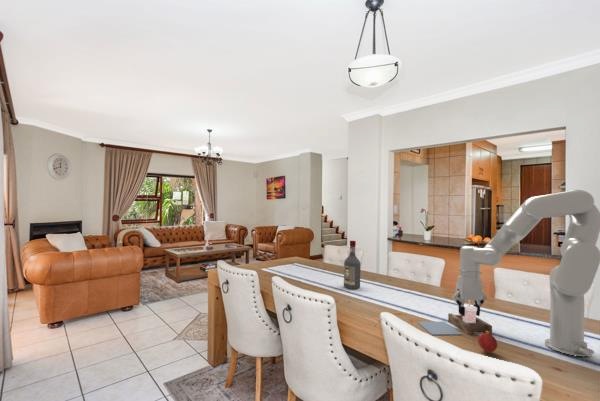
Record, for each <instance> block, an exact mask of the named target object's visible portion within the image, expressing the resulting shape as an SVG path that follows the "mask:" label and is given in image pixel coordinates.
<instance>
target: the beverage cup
mask: <svg viewBox="0 0 600 401" xmlns="http://www.w3.org/2000/svg"><path fill="white" fill-rule="evenodd" d="M464 307H465V316H463V321H464V322H466V323H476V317H477V315H476V311H477V307H475V306H474V305H472V304H471V301H468V304H464Z"/></svg>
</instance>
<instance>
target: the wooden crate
mask: <svg viewBox="0 0 600 401" xmlns="http://www.w3.org/2000/svg"><path fill="white" fill-rule="evenodd" d="M447 318H448V319H447V321H448V322H449V323H450V324H452V325H454V327H455V328H458V329H459V330H461V331H462V332H463V333H465V334H466V333H467V334H466V335H472V333H471V332H485V331H489V333H490V334H491V335H493V326H492V325H491V324H489V323H488V322H486V321H484V320H482V319H481V318H479V317H478V316H476V323H466V322H464V321H463V316H462V315H460V314H453V313H448V317H447Z"/></svg>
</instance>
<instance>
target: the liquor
mask: <svg viewBox="0 0 600 401" xmlns="http://www.w3.org/2000/svg"><path fill="white" fill-rule="evenodd" d="M343 266H344V267H343V287H344V288H345V289H348V290H358V288H359V289H360V288H361V261H360V260H359V259H358V257H357V256H356V240H349V255H348V257H346V258H345V260H344V262H343Z"/></svg>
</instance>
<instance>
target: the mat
mask: <svg viewBox="0 0 600 401" xmlns="http://www.w3.org/2000/svg"><path fill="white" fill-rule="evenodd" d="M416 323H417V324H418V325H419V326H420V327H421V328H423V329H424V330H425V331H426V332H428V333H429V334H430V335H432V336H463V333H461V331H458V329H456V328H455V327H453V326H451V325H450V324H449V323H447V322H446V321H416Z"/></svg>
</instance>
